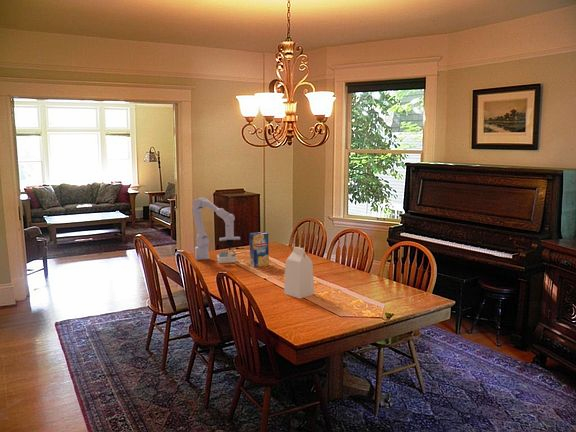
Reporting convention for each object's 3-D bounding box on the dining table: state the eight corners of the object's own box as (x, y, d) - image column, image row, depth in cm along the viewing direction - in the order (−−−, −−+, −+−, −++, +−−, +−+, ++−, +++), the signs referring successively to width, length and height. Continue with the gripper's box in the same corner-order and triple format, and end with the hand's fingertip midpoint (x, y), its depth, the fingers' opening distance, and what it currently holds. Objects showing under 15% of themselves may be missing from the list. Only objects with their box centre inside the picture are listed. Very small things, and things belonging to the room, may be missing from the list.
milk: (284, 293, 264) (283, 247, 260) (298, 289, 272) (298, 244, 268) (299, 298, 256) (299, 251, 252) (314, 293, 264) (314, 247, 260)
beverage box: (268, 265, 326) (268, 233, 323) (254, 267, 321) (253, 235, 318) (264, 262, 332) (263, 231, 329) (250, 264, 327) (249, 233, 324)
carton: (219, 263, 332) (218, 257, 332) (217, 260, 341) (216, 254, 340) (236, 261, 336) (236, 256, 335) (233, 259, 344) (233, 253, 344)
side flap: (230, 249, 333) (231, 248, 334) (228, 246, 341) (229, 245, 342) (235, 255, 335) (236, 254, 335) (233, 252, 343) (234, 251, 343)
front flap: (220, 251, 327) (220, 253, 326) (228, 251, 328) (228, 252, 328) (219, 255, 331) (219, 257, 331) (227, 255, 333) (227, 256, 332)
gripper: (220, 232, 330) (220, 252, 332) (240, 231, 334) (241, 250, 336) (218, 231, 337) (219, 250, 339) (239, 230, 341) (239, 248, 343)
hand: (230, 250), depth 338 cm, fingers closed, pressing on side flap
